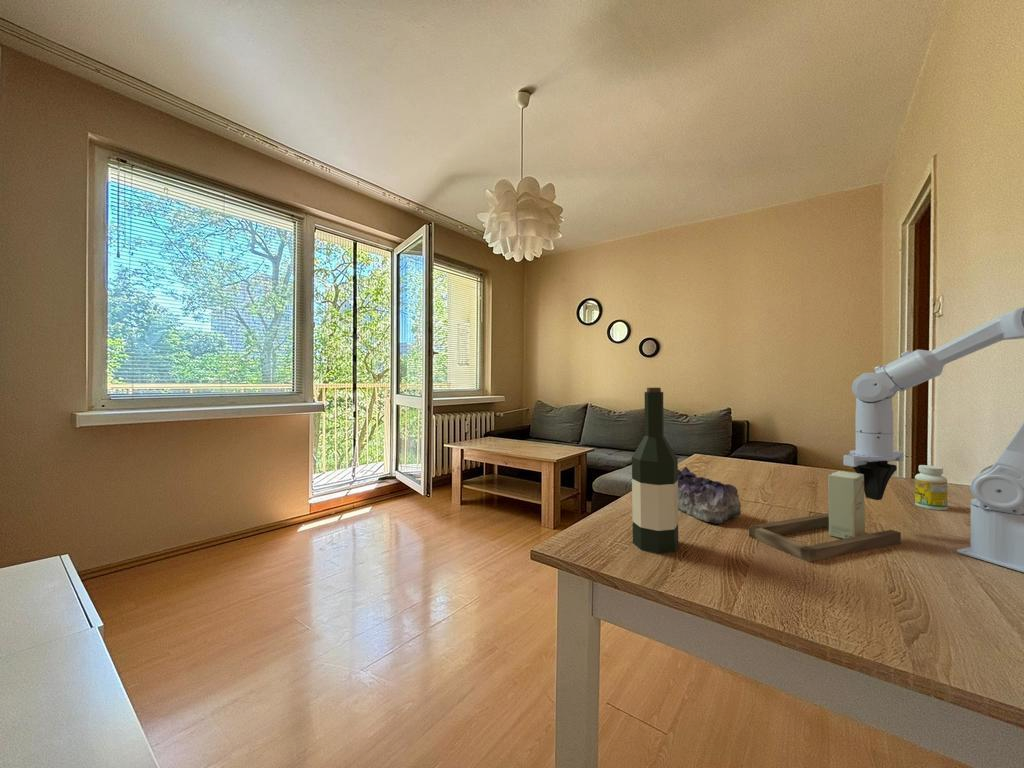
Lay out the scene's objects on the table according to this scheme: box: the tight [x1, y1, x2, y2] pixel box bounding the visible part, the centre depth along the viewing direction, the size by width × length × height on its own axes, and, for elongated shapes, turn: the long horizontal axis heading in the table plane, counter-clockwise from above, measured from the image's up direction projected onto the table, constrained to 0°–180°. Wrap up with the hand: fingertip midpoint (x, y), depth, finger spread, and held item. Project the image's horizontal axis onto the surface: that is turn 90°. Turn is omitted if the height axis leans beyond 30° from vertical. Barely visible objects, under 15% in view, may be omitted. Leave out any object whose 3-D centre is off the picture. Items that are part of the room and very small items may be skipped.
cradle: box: [748, 512, 902, 563], centre depth 79 cm, size 12×24×2 cm, turn 108°
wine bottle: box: [631, 387, 679, 554], centre depth 77 cm, size 8×8×30 cm
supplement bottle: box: [914, 464, 949, 511], centre depth 96 cm, size 5×5×10 cm
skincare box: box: [827, 470, 866, 539], centre depth 81 cm, size 6×4×12 cm
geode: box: [678, 466, 742, 525], centre depth 97 cm, size 20×12×10 cm, turn 18°
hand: (873, 498), depth 83 cm, fingers closed
